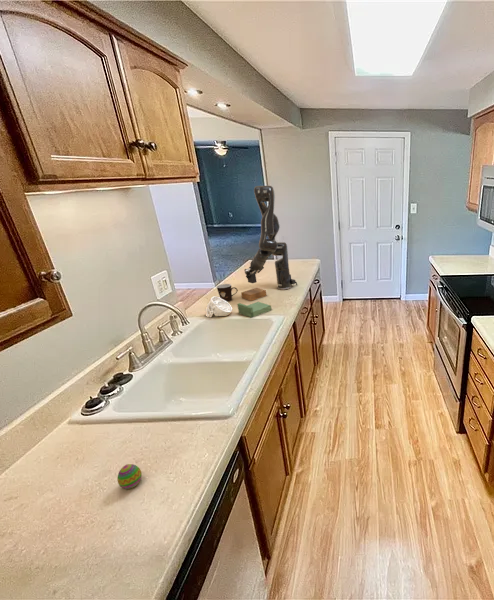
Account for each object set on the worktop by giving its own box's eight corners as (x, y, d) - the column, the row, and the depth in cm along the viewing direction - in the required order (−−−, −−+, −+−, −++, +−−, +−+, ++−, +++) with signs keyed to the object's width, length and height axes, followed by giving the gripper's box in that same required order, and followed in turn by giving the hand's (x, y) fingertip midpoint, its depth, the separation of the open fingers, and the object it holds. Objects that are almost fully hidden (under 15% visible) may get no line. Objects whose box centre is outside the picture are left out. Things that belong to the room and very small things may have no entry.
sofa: (258, 306, 206) (257, 297, 203) (271, 310, 199) (270, 300, 197) (238, 313, 195) (237, 303, 193) (251, 317, 188) (249, 308, 186)
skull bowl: (208, 309, 197) (215, 292, 193) (229, 321, 199) (237, 305, 195) (197, 315, 187) (205, 298, 183) (220, 328, 189) (228, 311, 185)
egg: (138, 489, 84) (131, 472, 82) (116, 493, 83) (109, 475, 81) (146, 474, 89) (141, 457, 87) (126, 477, 88) (120, 460, 86)
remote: (252, 281, 220) (249, 268, 217) (256, 282, 218) (254, 269, 215) (248, 282, 218) (246, 269, 215) (252, 283, 215) (250, 270, 212)
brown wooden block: (257, 293, 229) (256, 287, 227) (266, 295, 223) (265, 290, 222) (242, 298, 219) (241, 292, 218) (251, 300, 214) (250, 295, 213)
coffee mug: (216, 301, 213) (213, 287, 209) (226, 297, 220) (224, 283, 217) (229, 304, 209) (227, 289, 205) (240, 299, 216) (237, 285, 213)
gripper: (264, 254, 213) (255, 270, 224) (245, 259, 202) (237, 275, 213) (271, 263, 212) (261, 278, 223) (252, 268, 201) (243, 284, 212)
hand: (249, 276), depth 218 cm, fingers closed on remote, 3 cm apart
